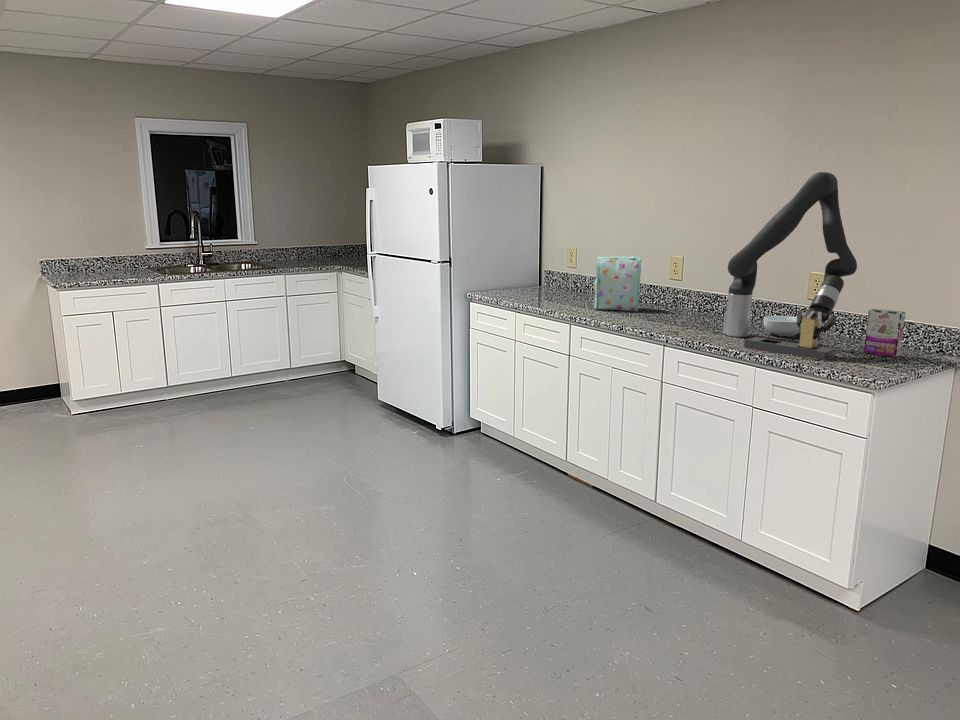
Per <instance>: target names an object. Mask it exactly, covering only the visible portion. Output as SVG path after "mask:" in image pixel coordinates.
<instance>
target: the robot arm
mask: <svg viewBox="0 0 960 720" xmlns="http://www.w3.org/2000/svg"><path fill="white" fill-rule="evenodd" d="M838 184H839V183H838V179H837V177H836V176H835V175H834V174H833V173H831V172H825V171H820V172H816V173H813V174H812V175H811V176H810V177H809V178H808V179H807V180H806V182H805V183H804V184H803V185H802V186H801V188H800V189H799V191H798V192H797V193H796V194H795V195H793V198H792V199H790V200H789V201H788V202H787V203H786V204H785V205H784V206H783V207H781V208H780V210H779V211H778V212H777V213H776V214H774V215H773V216H772V218H770V220H768V222H766V224H765V225H764V226H763V227H762V228H761V229H760V230H759V231H758V232H757V233H756V235H755V236H754V237H752V239H751V240H750V242H748V243H747V244H746V245H745V246H744V247H743V248H742V249H740V250H739V251H738V252H737V253H736V254H734V255H733V256H732V257H731V258H730V260H729V262H728V264H727V271H728V274H730V276H732V277H733V280H732V283H731V284H730V286H729V288H728V297H727V308H726V311H724V319H723V326H722V327H723V328H722V335H725V334H726V335H725V336H729V337H736V338H737V337H738V338H740V337H741V338H745V337H749V333H750V324H751V313H752V312H751V311H752V303H753V302H752V301H753V292H754V289H755V287H756V281H757V275H758V260H759V259H760V258H761V257H762V256H764V255H765V254H766V253H768V252H769V251H771V250H773V249H774V248H775V247H776V246H778V245H780V244H782V242H784V241H785V240H786V239H787V238H788V237H789V236H790V235H791V234H792V233H793V232H794V231H795V229H796V228H797V227H798V225H799V224H800V223H801V221H802V219H803V218H804V216H805V215H806V214H807V212H808V211H809V210H810V209H811V208H812V207H813V206H815V204H816V203H817V202H818V203H819V205H820V209H821V215H822V217H821V218H822V234H823V239H824V243H825V247H826V248H825V249H826V251H827V252H828V254H836V255H837V256H838V258H835V259H831V260H830V261H829V262H827V264H826V266H825V267H824V268H825V269H824V276H823V281H822V283H821V285H820V287H819V289H818V290H817V292H816V293H815V296H814V297H813V299H812V302H811V303H810V305H809V308H808V309H807V310H806V312H802V311H801V310H798V312H797V316H796V317H797V321H796V323H797V326H798V328H799V330H798V332H797V333H798V334H797V336H798V337H799V338H800V333H801V324H802V319H803V318H815V319H820V320H819V323H818V328H816V330H815V332H814V334H813V339H815V340H816V338H818V339H819V337H820V335H821V333H822V332H828V331H829V330H830V329H831V328H832V327H833V326H834V325H835V324H836V323H837V322H838V320H837V317H836V315H834V314H833V315H832V313H833V310H834V309H835V307H836V304H837V302H838V299H839V296H840V295H841V292H842V290H843V289H844V285H845V281H844V279H843V277H848V276H851V275H854V274H855V273H856V272H857V269H858V264H857V259H856V257H855V256H854V254H853V253H852V251H851V249H850V247H849V244H848V243H847V239H846V234H845V230H844V229H845V228H844V225H843V221H842V217H841V209H840V202H839V200H840V199H839V185H838Z"/></svg>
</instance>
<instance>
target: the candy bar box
mask: <svg viewBox="0 0 960 720" xmlns="http://www.w3.org/2000/svg"><path fill="white" fill-rule="evenodd" d="M905 319H906V311H901V310H899V311H898V310H890V309H889V310H888V309H882V308H881V309H879V308H871V309H868V315H867V323H866V331H865V339H864V347H863V353H864V354H867V353H871V354H870V355H874V354H877V355H876V356H881V355H882V356H883V357H890V358H897V357H900V356H901V349H902V343H903V335H904V327H905Z"/></svg>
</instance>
